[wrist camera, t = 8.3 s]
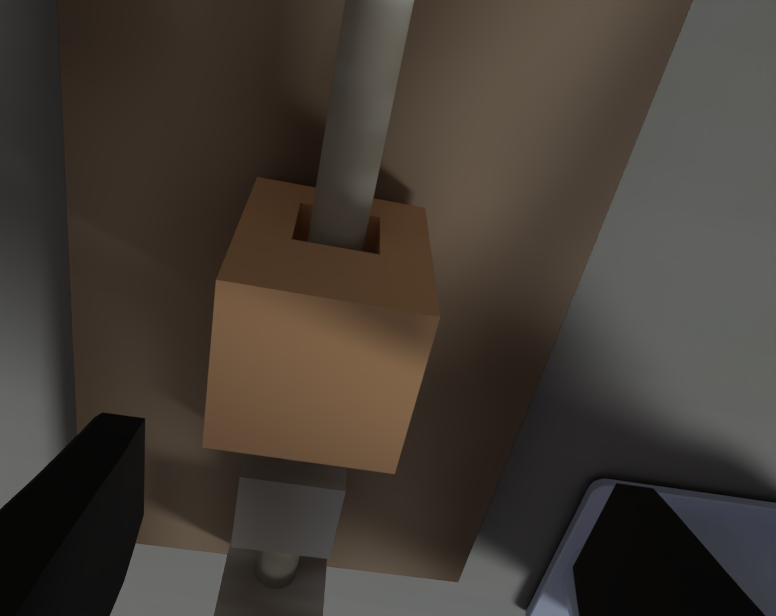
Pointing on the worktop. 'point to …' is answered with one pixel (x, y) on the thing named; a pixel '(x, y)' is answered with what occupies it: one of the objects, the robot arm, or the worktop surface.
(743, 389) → the worktop surface
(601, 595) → the robot arm
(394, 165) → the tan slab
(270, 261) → the sleeve
